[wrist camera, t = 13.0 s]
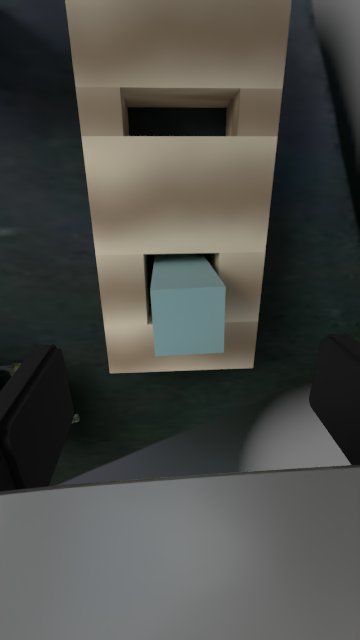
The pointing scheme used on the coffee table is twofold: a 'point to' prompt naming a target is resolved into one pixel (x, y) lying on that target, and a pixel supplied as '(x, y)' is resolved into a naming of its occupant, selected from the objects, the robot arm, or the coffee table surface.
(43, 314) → the coffee table surface
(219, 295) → the square peg
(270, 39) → the bore board
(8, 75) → the coffee table surface
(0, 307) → the coffee table surface
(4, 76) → the coffee table surface
